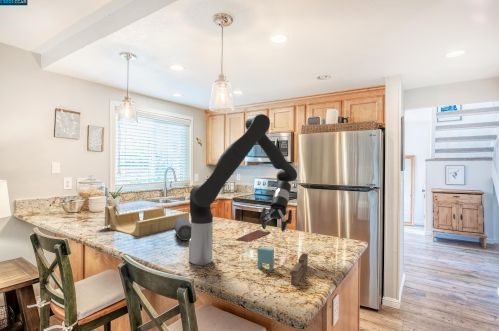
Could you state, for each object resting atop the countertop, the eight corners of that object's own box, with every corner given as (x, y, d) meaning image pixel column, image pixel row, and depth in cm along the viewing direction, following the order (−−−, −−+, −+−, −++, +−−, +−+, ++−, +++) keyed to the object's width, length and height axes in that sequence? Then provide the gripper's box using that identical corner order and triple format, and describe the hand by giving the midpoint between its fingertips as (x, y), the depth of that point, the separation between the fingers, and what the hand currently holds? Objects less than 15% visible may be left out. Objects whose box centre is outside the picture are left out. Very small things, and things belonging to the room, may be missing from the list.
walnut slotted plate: (291, 284, 94) (291, 270, 94) (302, 265, 112) (302, 253, 112) (297, 285, 93) (297, 271, 93) (307, 265, 111) (307, 253, 111)
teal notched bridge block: (257, 268, 108) (258, 248, 108) (259, 266, 110) (260, 247, 110) (271, 270, 105) (272, 250, 105) (273, 268, 108) (273, 249, 108)
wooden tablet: (257, 231, 171) (257, 228, 171) (271, 233, 166) (271, 231, 166) (232, 240, 149) (232, 237, 149) (247, 243, 143) (247, 240, 143)
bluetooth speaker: (194, 241, 144) (194, 223, 144) (176, 243, 141) (176, 224, 141) (189, 231, 166) (189, 215, 166) (173, 232, 163) (174, 216, 163)
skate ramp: (138, 239, 153) (139, 211, 152) (104, 228, 172) (105, 204, 171) (188, 225, 186) (189, 203, 186) (155, 218, 205) (156, 197, 205)
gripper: (264, 194, 127) (255, 223, 117) (293, 196, 122) (287, 226, 111) (267, 204, 132) (259, 232, 122) (296, 206, 127) (290, 236, 116)
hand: (272, 229), depth 116 cm, fingers open, 8 cm apart
